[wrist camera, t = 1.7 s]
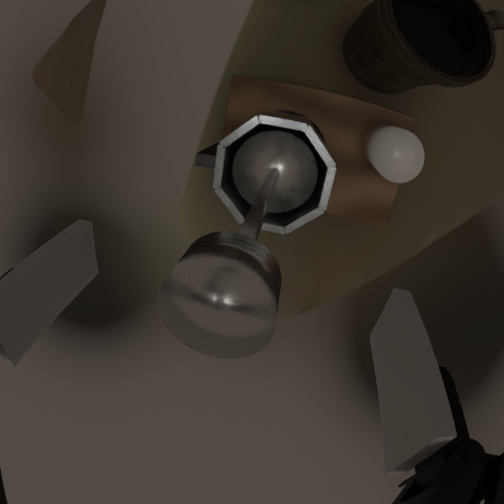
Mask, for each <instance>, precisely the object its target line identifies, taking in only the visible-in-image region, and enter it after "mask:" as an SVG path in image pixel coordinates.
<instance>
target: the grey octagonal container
mask: <svg viewBox="0 0 504 504" xmlns="http://www.w3.org/2000/svg"><path fill="white" fill-rule="evenodd" d="M268 130H281V131H286V132H289V133H291V134H294V135H296V136H297V137H299V138H300V139H302V140H303V141H304V142H305V143H306V144H307V145H308V146H309V148H310V149H311V151H312V153H313V154H314V157H315V160H316V163H317V170H318V176H317V182H316V186H315V188H314V190H313V192H312V194H311V195H310V197H309V198H308V199H307V200H306V201H305V202H304V203H303V204H302V205H300V206H299V207H297V208H295V209H293V210H290V211H286V212H279V213H273V212H267V213H266V216H265V219H264V222H263V225H262V227H261V230H266V231H271V232H276V233H280V234H284V233H285V232H286V233H287V234H288V233H290V232H291V231H293V230H295V229H297V228H298V227H300V226H302V225H304V224H305V223H307V222H309V221H311V220H312V219H314V218H316V217H318V216H319V215H321V214H323V213H324V210H325V211H326V208H327V204H328V200H329V196H330V193H331V189H332V185H333V181H334V177H335V172H336V164H335V162H334V160H333V158H332V156H331V154H330V152H329V150H328V148H327V146H326V143H325V140H324V137H323V135H322V133H321V132H320V130H319V129H318V127H317V126H316V125H315V124H314V123H313V122H312V121H311V120H310V119H308V118H307V117H305V116H303V115H302V114H299V113H297V112H293V111H287V110H278V111H271V112H267V113H263V114H260V115H256V116H255V117H253V118H252V119H250V120H249V121H248V122H246V123H245V124H243V125H242V126H241V127H239V128H238V129H237V130H235V131H234V132H232V133H231V134H230V135H228V136H227V137H226V138H224V139H223V140H222V141H220V142H218V143H216V144H214V145H212V146H210V147H208V148H206V149H204V150H202V151H200V152H198V153H197V155H196V166H203V167H209V168H215V173H214V182H213V188H215V189H214V191H215V192H216V194H217V195H218V196H219V198H220V199H221V200H222V202H223V203H224V204H225V205H226V207H227V208H228V209H229V211H230V212H231V213H232V215H233V216H234V217H235V218H236V220H237V221H238V222H239V224H241V223H242V222H244V220H245V218H246V216H247V214H248V212H249V210H250V208H251V206H252V205H251V204H249V203H248V202H247V201H246V200H245V199H244V198H243V197H242V196H241V194H240V193H239V191H238V190H237V188H236V186H235V183H234V179H233V171H232V170H233V162H234V158H235V155H236V153H237V151H238V150H239V148H240V147H241V145H242V144H243V143H244V142H245V141H247V140H248V139H249V138H250V137H252V136H254V135H255V134H258V133H260V132H263V131H268ZM242 224H243V223H242Z"/></svg>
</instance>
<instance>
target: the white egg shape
mask: <svg viewBox="0 0 504 504" xmlns="http://www.w3.org/2000/svg"><path fill="white" fill-rule="evenodd" d="M362 151H363V154H364V156H365V158H366V159H367V161H368V162H369V163H370V164H371V165H372V166H373V167H374V168H375V169H376V170H377V171H378V172H379V173H380V174H381V175H382V176H383V177H384V178H386V179H387V180H389V181H391V182H395V183H405V182H408V181H410V180H412V179H414V178H415V177H416V176H417V175H418V174H419V173H420V171H421V169H422V167H423V164H424V158H425V157H424V149H423V146H422V144H421V142H420V140H419V139H418V138H417V137H416V136H415V135H414V134H413V133H411V132H410V131H407V130H405V129H402V128H399V127H395V126H392V125H389V124H384V123H381V124H376V125H374V126H372V127H370V128H369V129H368V130H367V131H366V132H365V134H364V136H363V139H362Z"/></svg>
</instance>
